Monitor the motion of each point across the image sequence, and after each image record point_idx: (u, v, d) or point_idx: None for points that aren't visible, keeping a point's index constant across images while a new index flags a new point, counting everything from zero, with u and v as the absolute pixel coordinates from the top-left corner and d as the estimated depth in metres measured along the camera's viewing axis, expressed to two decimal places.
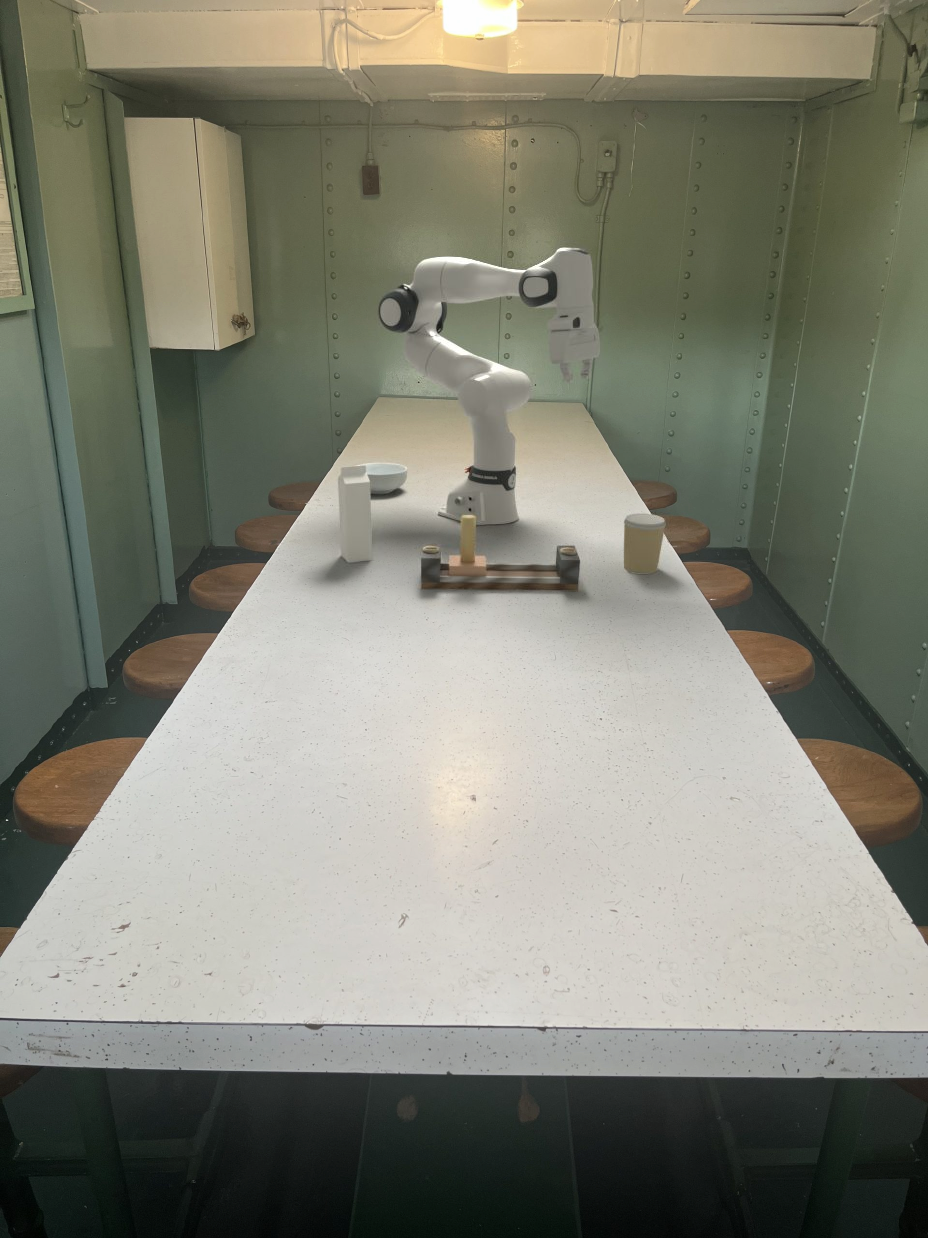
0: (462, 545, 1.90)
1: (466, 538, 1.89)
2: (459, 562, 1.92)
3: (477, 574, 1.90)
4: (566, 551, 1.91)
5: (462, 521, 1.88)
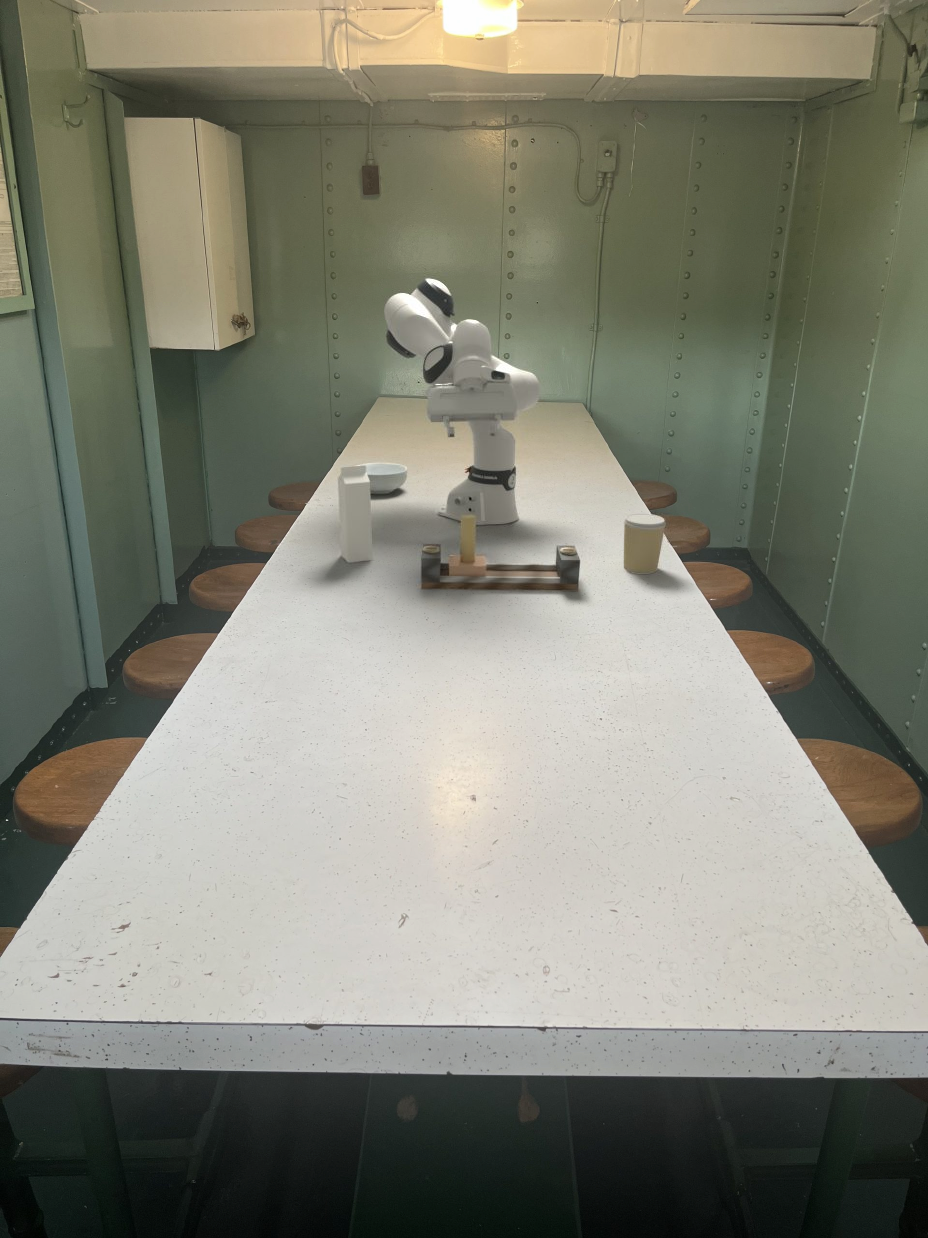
0: (462, 545, 1.90)
1: (466, 538, 1.89)
2: (459, 562, 1.92)
3: (477, 574, 1.90)
4: (566, 551, 1.91)
5: (462, 521, 1.88)
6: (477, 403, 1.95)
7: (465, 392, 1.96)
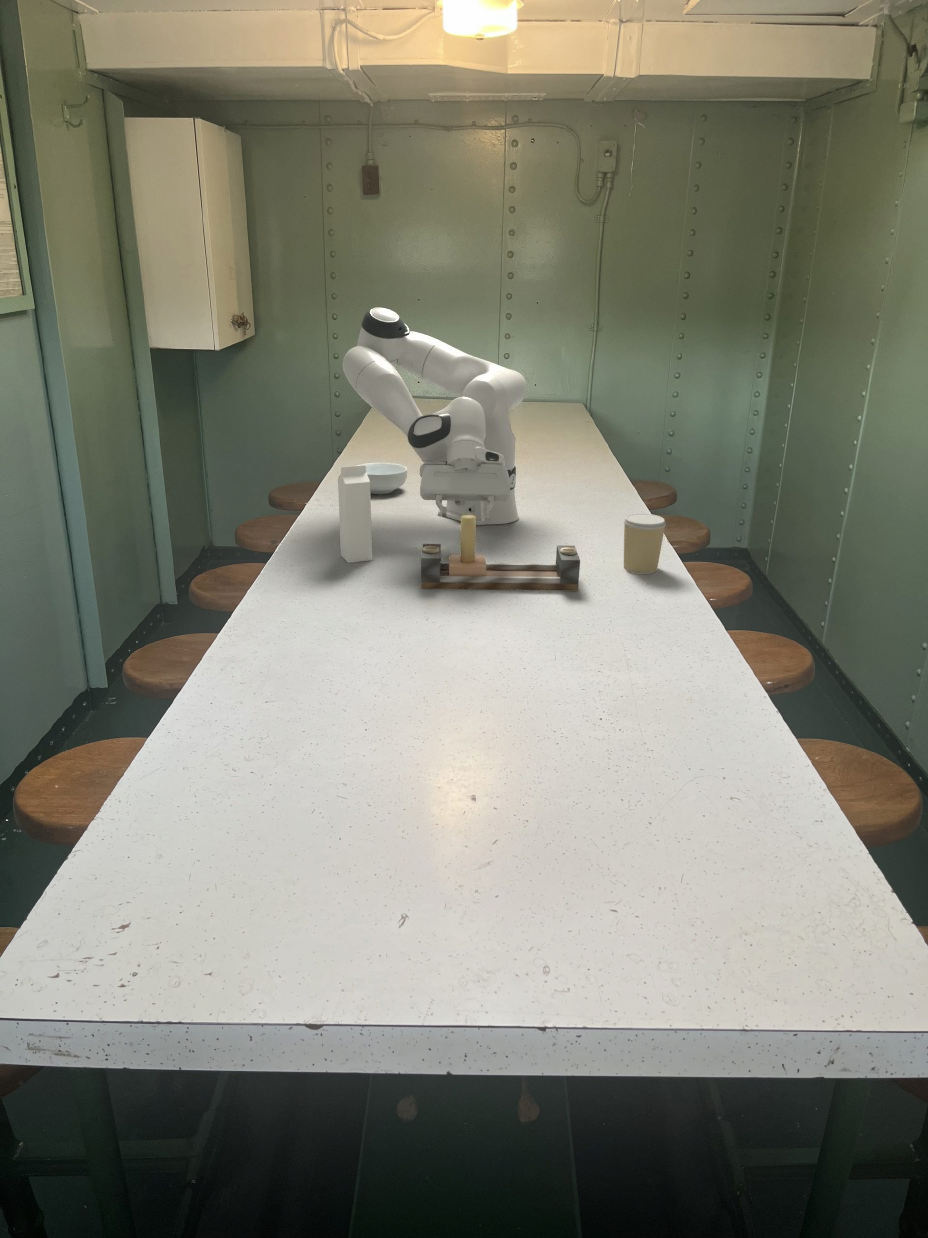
0: (462, 545, 1.90)
1: (466, 538, 1.89)
2: (459, 562, 1.92)
3: (477, 574, 1.90)
4: (566, 551, 1.91)
5: (462, 521, 1.88)
6: (470, 484, 1.95)
7: (459, 472, 1.96)
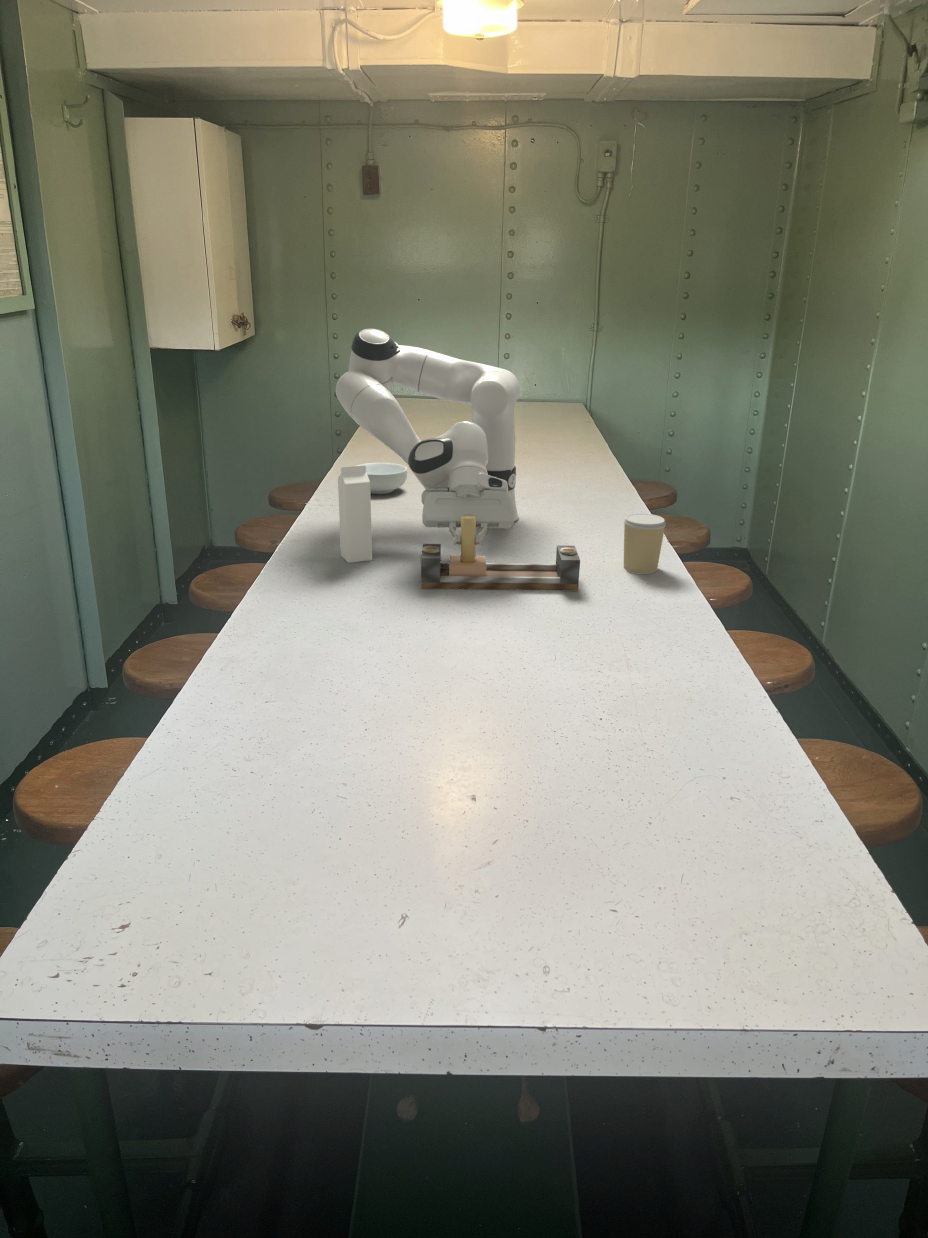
0: (462, 545, 1.90)
1: (467, 538, 1.89)
2: (459, 562, 1.92)
3: (477, 574, 1.90)
4: (566, 551, 1.91)
5: (462, 521, 1.88)
6: (474, 511, 1.91)
7: (461, 498, 1.93)
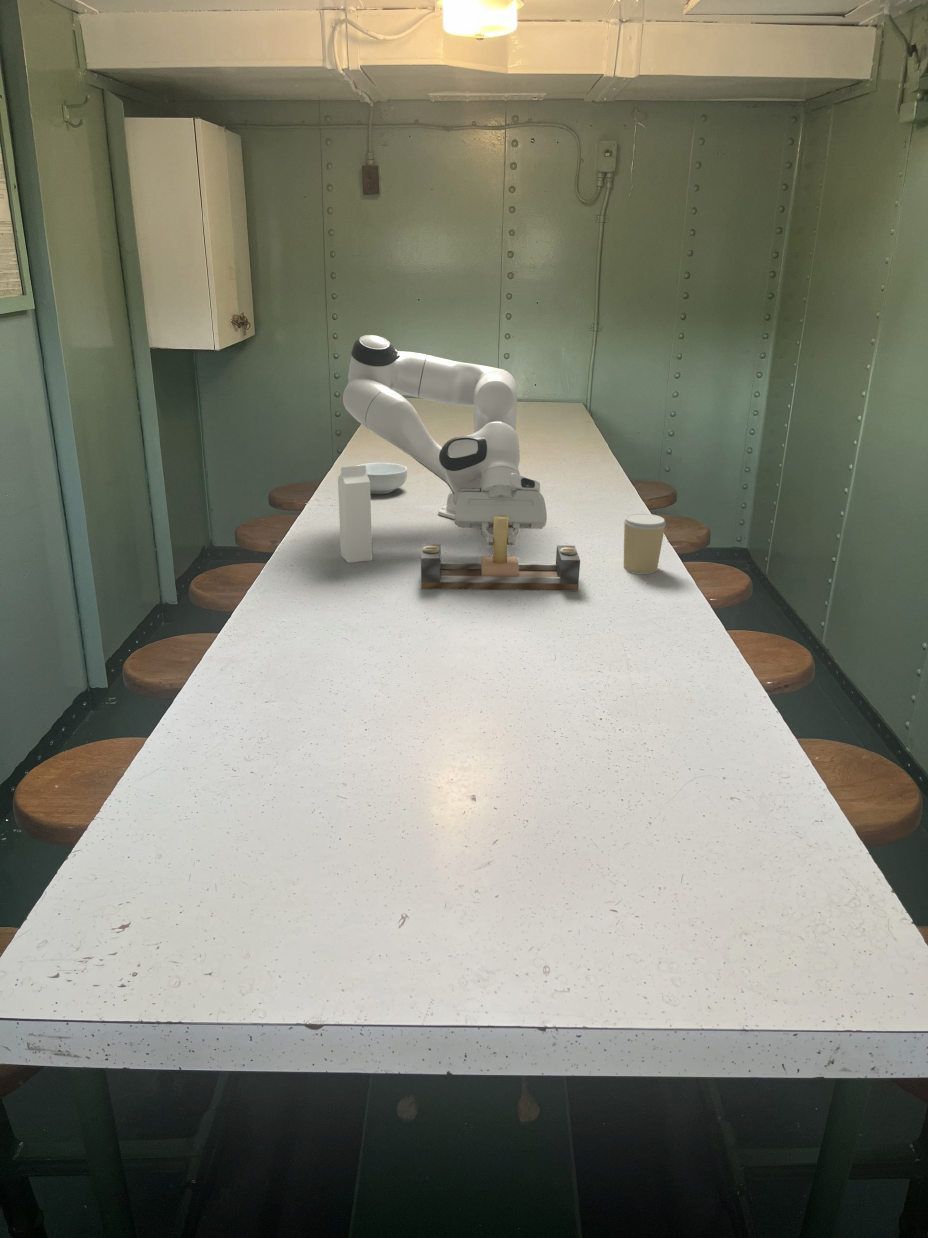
0: (495, 545, 1.90)
1: (499, 539, 1.89)
2: (491, 562, 1.92)
3: (510, 574, 1.90)
4: (566, 551, 1.91)
5: (495, 521, 1.88)
6: (506, 511, 1.91)
7: (494, 499, 1.93)
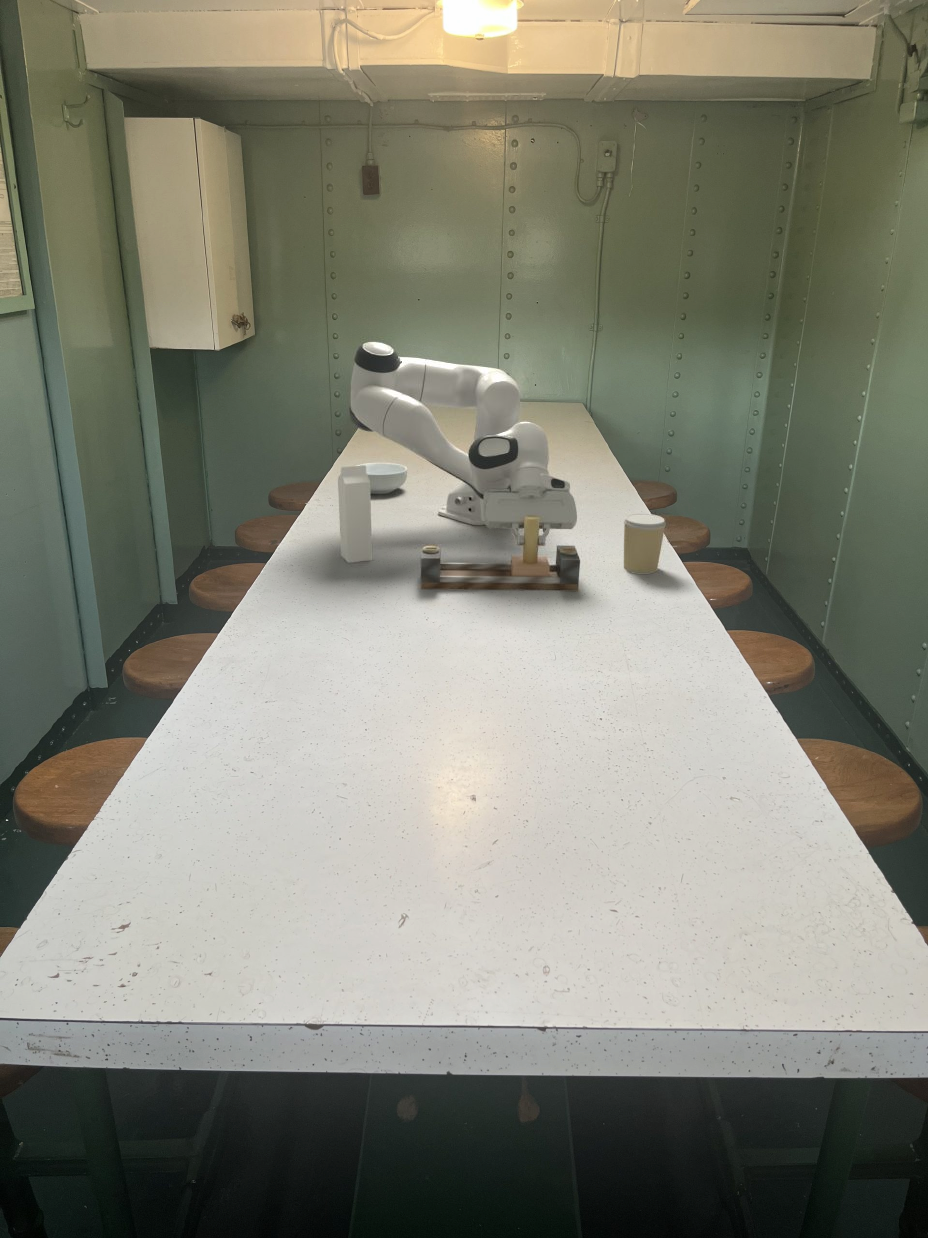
0: (525, 546, 1.90)
1: (530, 539, 1.89)
2: (522, 563, 1.92)
3: (540, 575, 1.90)
4: (566, 551, 1.91)
5: (526, 522, 1.88)
6: (537, 512, 1.92)
7: (524, 499, 1.93)
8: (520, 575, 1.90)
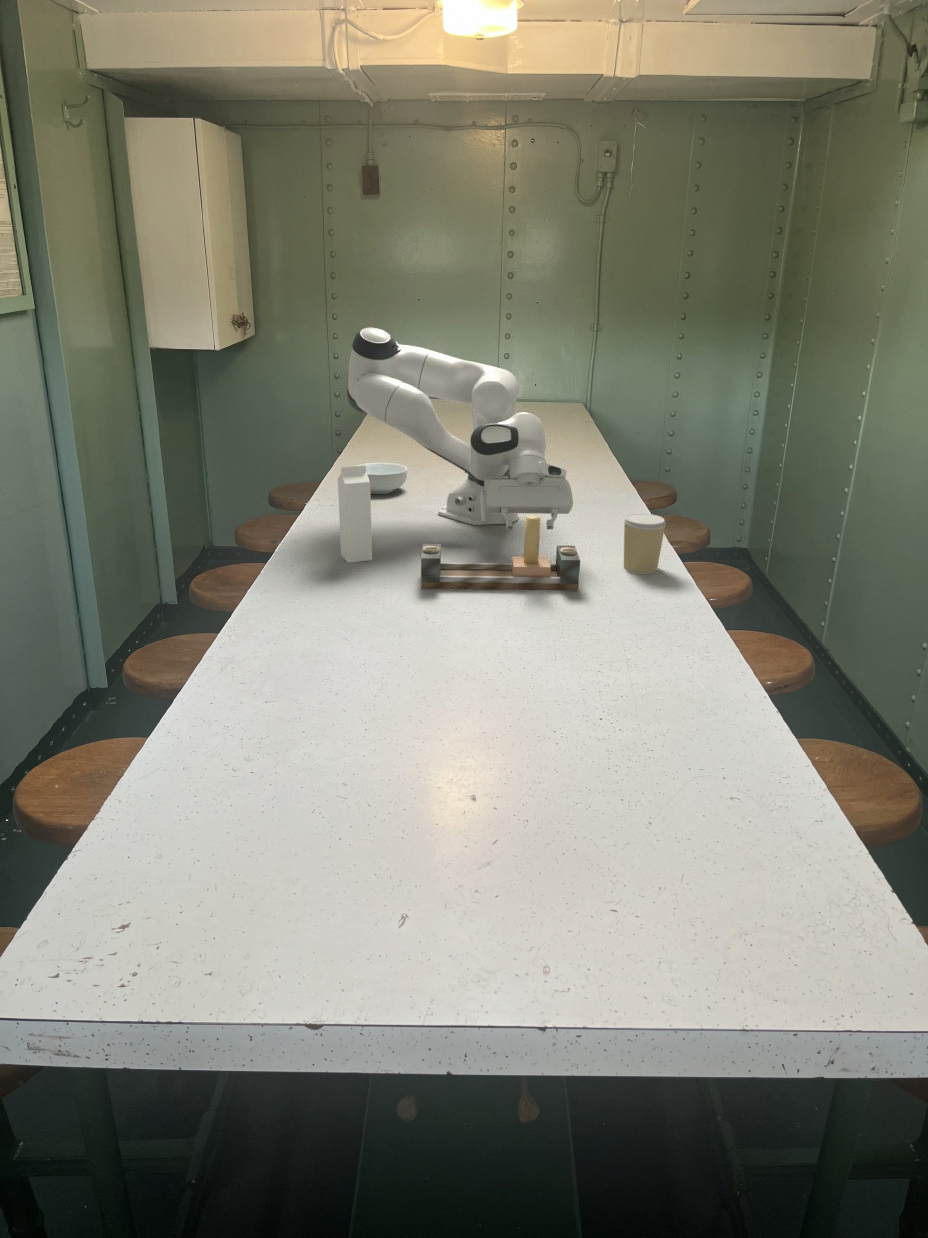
0: (526, 546, 1.90)
1: (531, 539, 1.89)
2: (523, 563, 1.92)
3: (541, 575, 1.90)
4: (566, 551, 1.91)
5: (527, 522, 1.88)
6: (535, 497, 2.02)
7: (522, 486, 2.04)
8: (521, 575, 1.90)
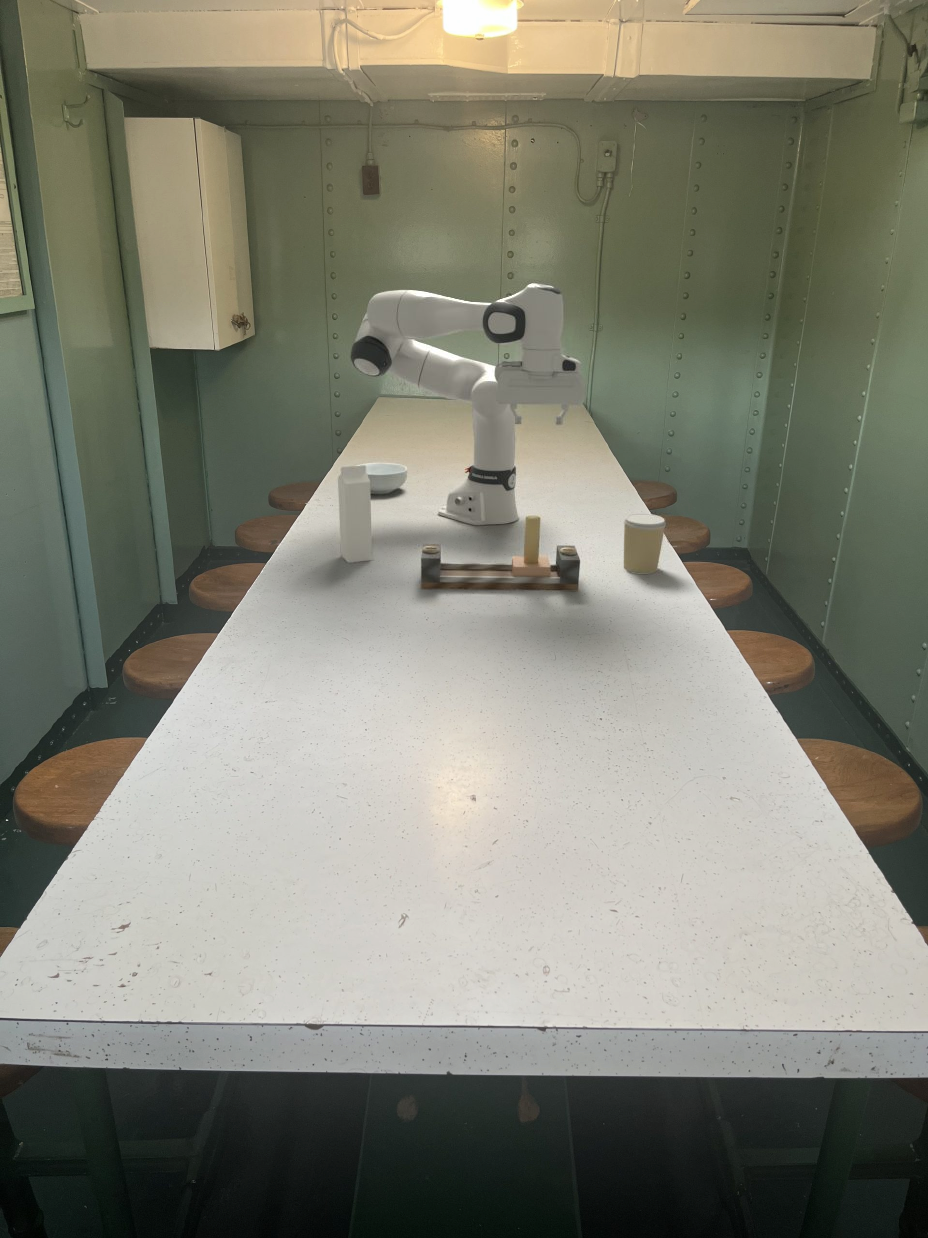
0: (526, 546, 1.90)
1: (531, 539, 1.89)
2: (523, 563, 1.92)
3: (541, 575, 1.90)
4: (566, 551, 1.91)
5: (527, 522, 1.88)
6: (546, 394, 1.97)
7: (534, 379, 1.96)
8: (521, 575, 1.90)
